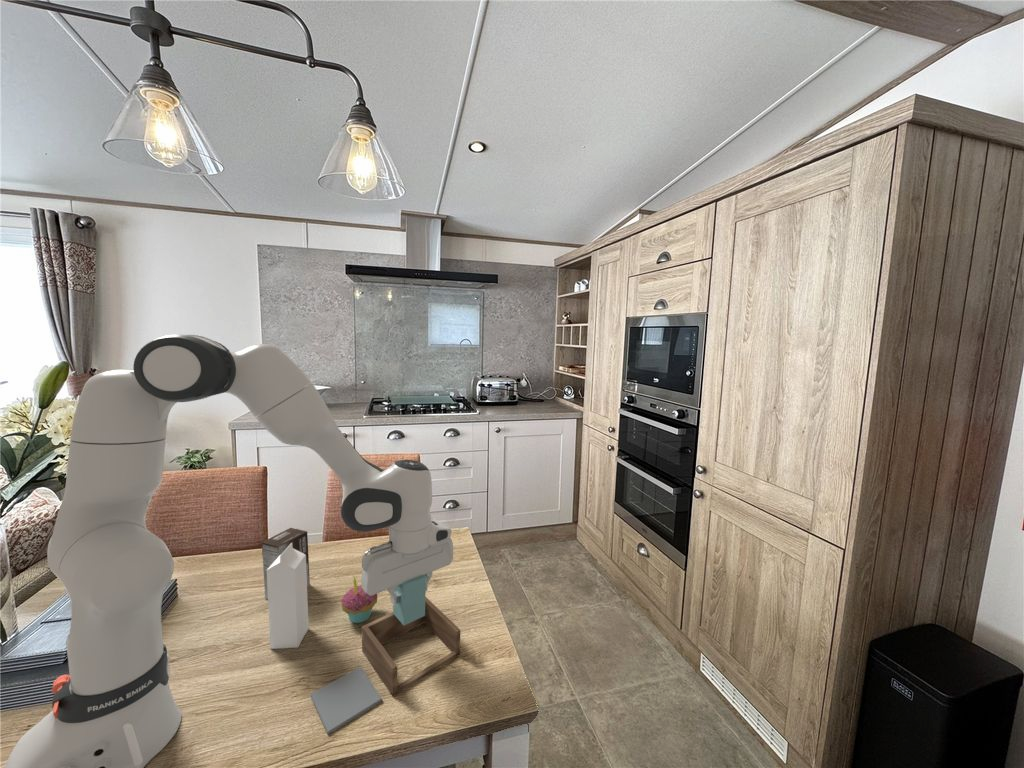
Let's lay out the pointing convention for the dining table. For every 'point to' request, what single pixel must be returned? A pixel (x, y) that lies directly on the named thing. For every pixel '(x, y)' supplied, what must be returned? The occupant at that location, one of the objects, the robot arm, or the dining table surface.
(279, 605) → the milk
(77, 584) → the robot arm
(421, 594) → the block
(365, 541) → the dining table surface
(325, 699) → the mat
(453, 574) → the dining table surface
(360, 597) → the cupcake
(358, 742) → the dining table surface
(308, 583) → the coffee box
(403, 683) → the crate
